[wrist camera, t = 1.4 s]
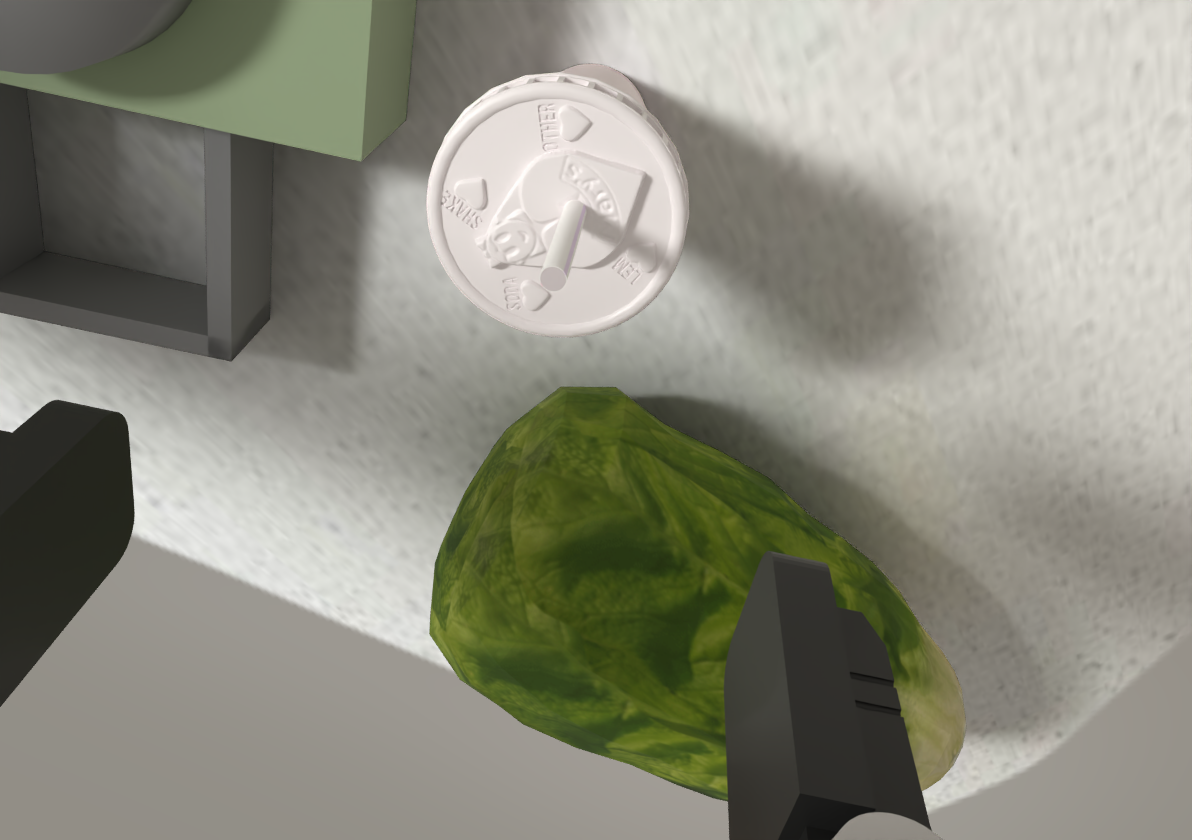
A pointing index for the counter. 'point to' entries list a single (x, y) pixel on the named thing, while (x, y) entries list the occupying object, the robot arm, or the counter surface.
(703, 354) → the counter surface
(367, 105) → the green base
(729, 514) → the lettuce
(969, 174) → the counter surface
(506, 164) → the smoothie
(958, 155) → the counter surface
